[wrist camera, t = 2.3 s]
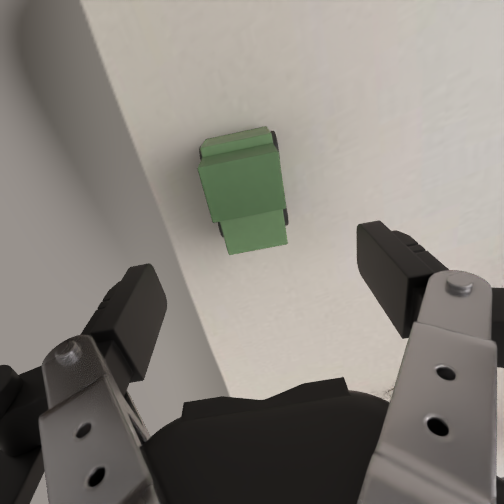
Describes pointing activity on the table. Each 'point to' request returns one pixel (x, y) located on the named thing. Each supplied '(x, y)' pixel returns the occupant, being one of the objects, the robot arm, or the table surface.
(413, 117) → the table surface
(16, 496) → the robot arm
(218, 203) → the toy truck
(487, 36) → the table surface
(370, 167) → the table surface
